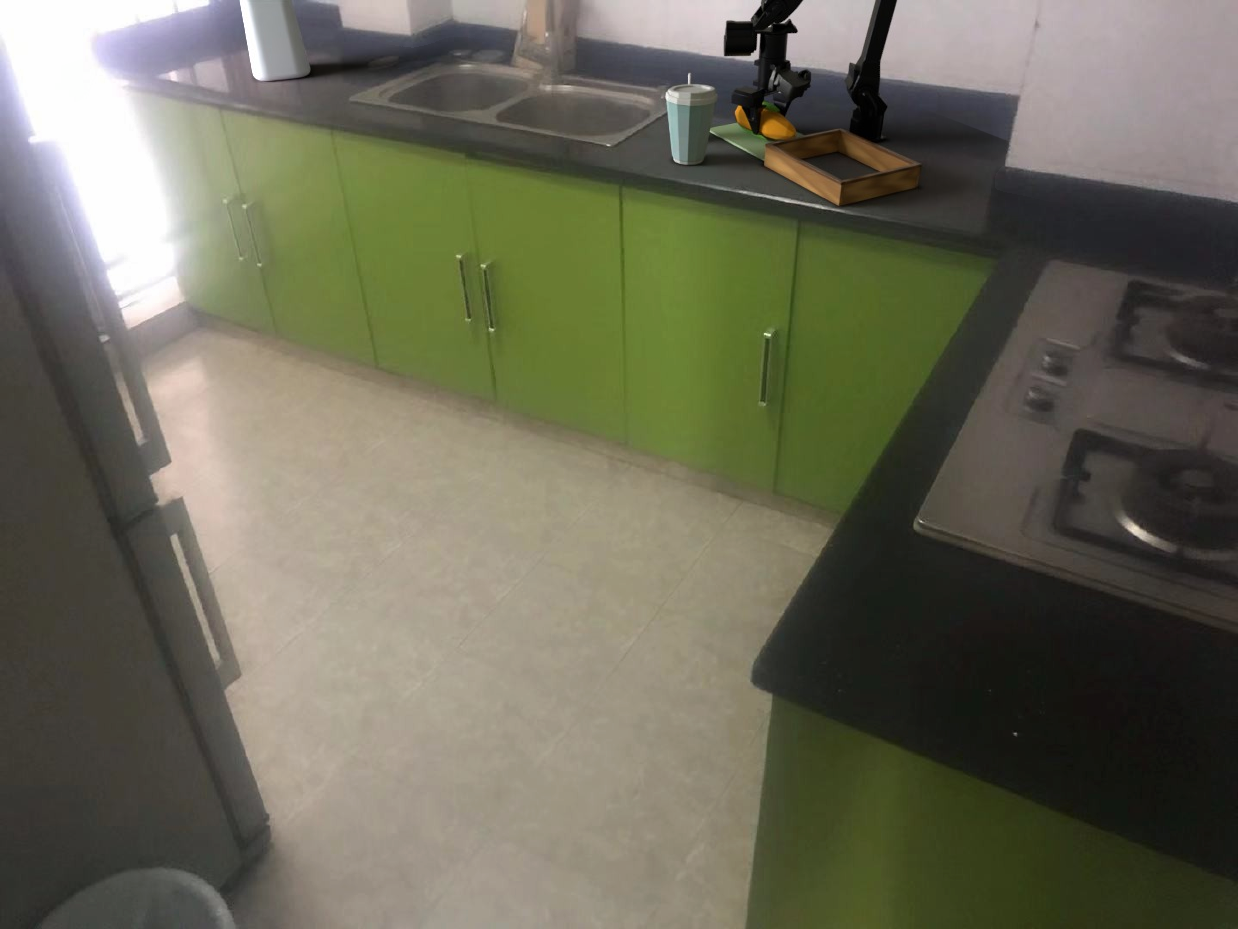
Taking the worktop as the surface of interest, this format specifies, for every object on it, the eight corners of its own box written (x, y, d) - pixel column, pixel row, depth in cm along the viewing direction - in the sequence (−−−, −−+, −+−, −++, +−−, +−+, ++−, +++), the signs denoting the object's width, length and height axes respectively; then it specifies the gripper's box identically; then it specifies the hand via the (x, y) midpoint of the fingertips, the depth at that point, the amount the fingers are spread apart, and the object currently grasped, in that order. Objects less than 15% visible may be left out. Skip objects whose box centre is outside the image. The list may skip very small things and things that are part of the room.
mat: (765, 119, 221) (765, 116, 221) (828, 149, 204) (829, 146, 203) (706, 130, 215) (706, 128, 215) (766, 162, 198) (766, 160, 198)
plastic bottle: (312, 77, 258) (288, -38, 241) (254, 83, 254) (226, -33, 237) (308, 63, 269) (285, -47, 252) (253, 69, 266) (226, -43, 249)
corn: (754, 87, 213) (811, 110, 199) (753, 121, 218) (809, 145, 204) (726, 95, 210) (782, 118, 196) (727, 129, 215) (782, 154, 201)
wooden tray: (838, 149, 203) (840, 127, 201) (918, 187, 185) (922, 163, 183) (763, 165, 197) (764, 143, 194) (838, 206, 179) (841, 182, 176)
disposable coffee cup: (656, 156, 203) (656, 83, 194) (700, 148, 206) (703, 76, 197) (677, 171, 195) (679, 96, 186) (724, 163, 198) (727, 89, 189)
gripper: (772, 71, 189) (767, 149, 199) (831, 53, 199) (823, 128, 208) (731, 61, 196) (727, 137, 205) (790, 44, 206) (784, 117, 215)
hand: (767, 130), depth 208 cm, fingers closed on corn, 7 cm apart
